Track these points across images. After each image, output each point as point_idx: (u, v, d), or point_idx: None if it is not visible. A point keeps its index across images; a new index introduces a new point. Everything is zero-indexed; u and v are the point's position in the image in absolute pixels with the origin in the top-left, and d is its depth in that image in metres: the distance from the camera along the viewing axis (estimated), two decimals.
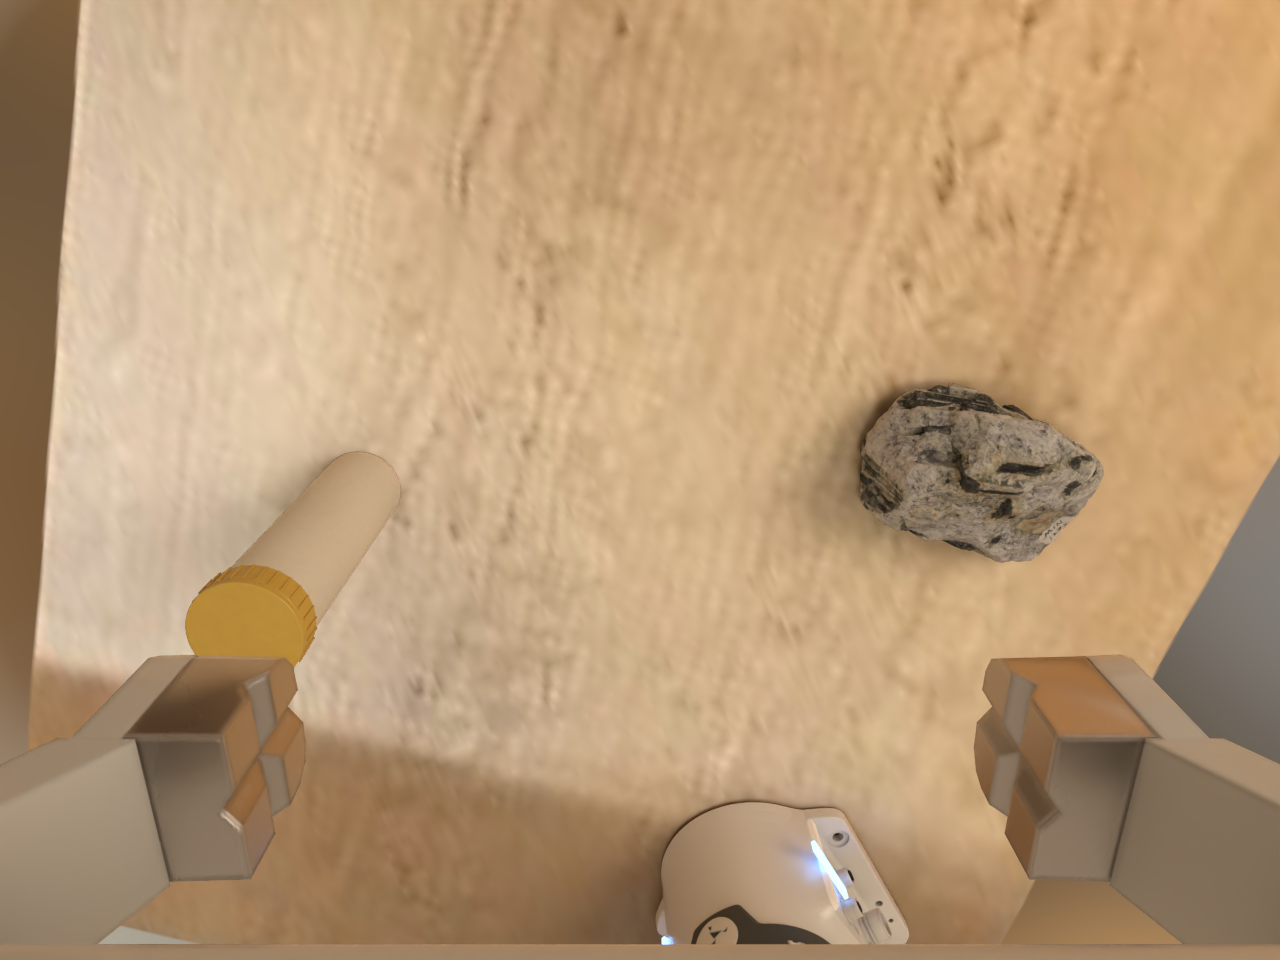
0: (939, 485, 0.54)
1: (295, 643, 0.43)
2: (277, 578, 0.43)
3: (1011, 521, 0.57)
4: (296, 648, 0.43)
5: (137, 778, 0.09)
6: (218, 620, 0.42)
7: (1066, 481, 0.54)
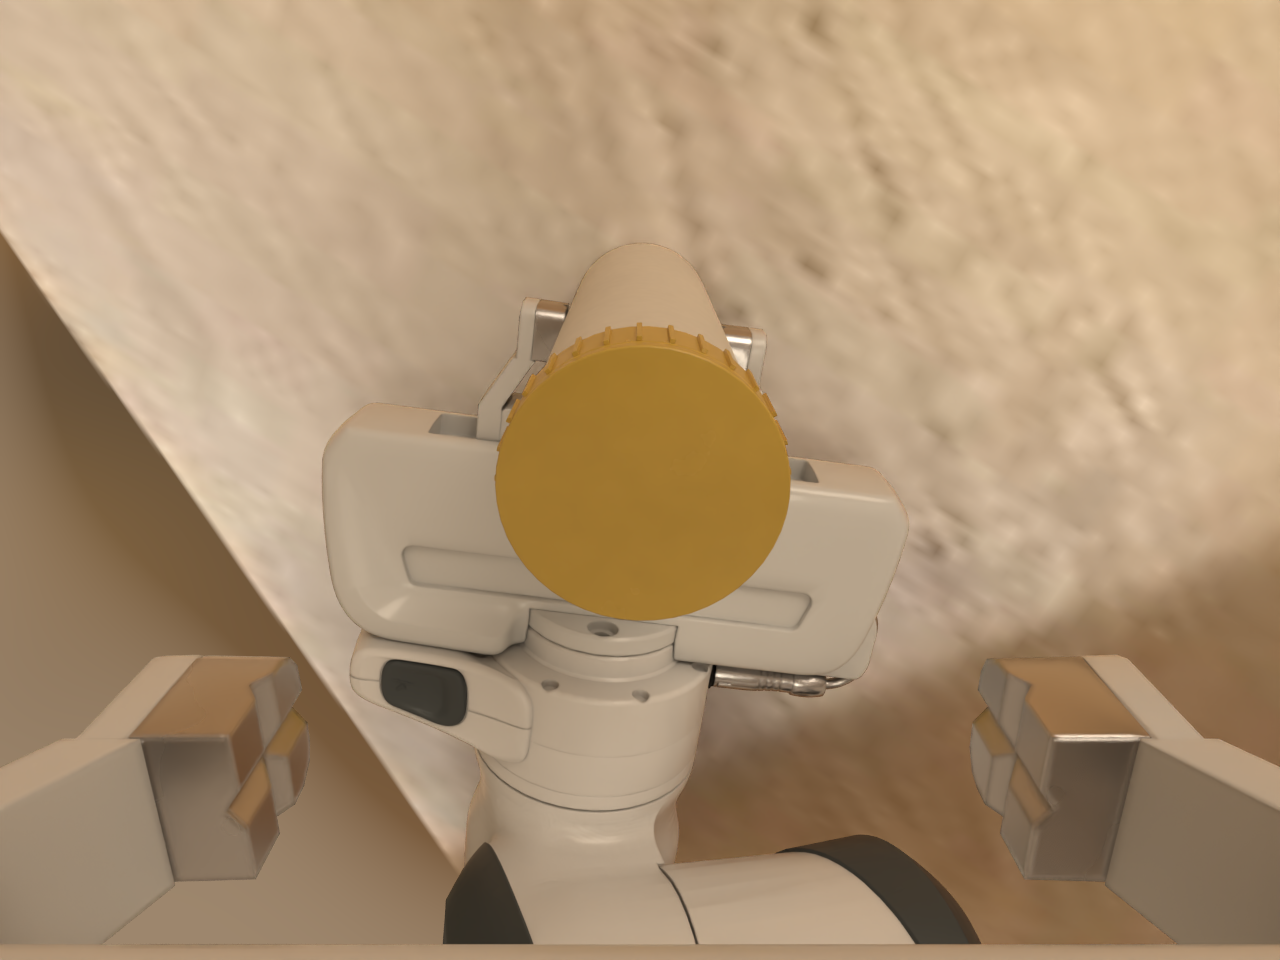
0: None
1: (755, 428, 0.16)
2: None
3: None
4: (765, 438, 0.17)
5: (142, 778, 0.09)
6: (572, 501, 0.17)
7: None
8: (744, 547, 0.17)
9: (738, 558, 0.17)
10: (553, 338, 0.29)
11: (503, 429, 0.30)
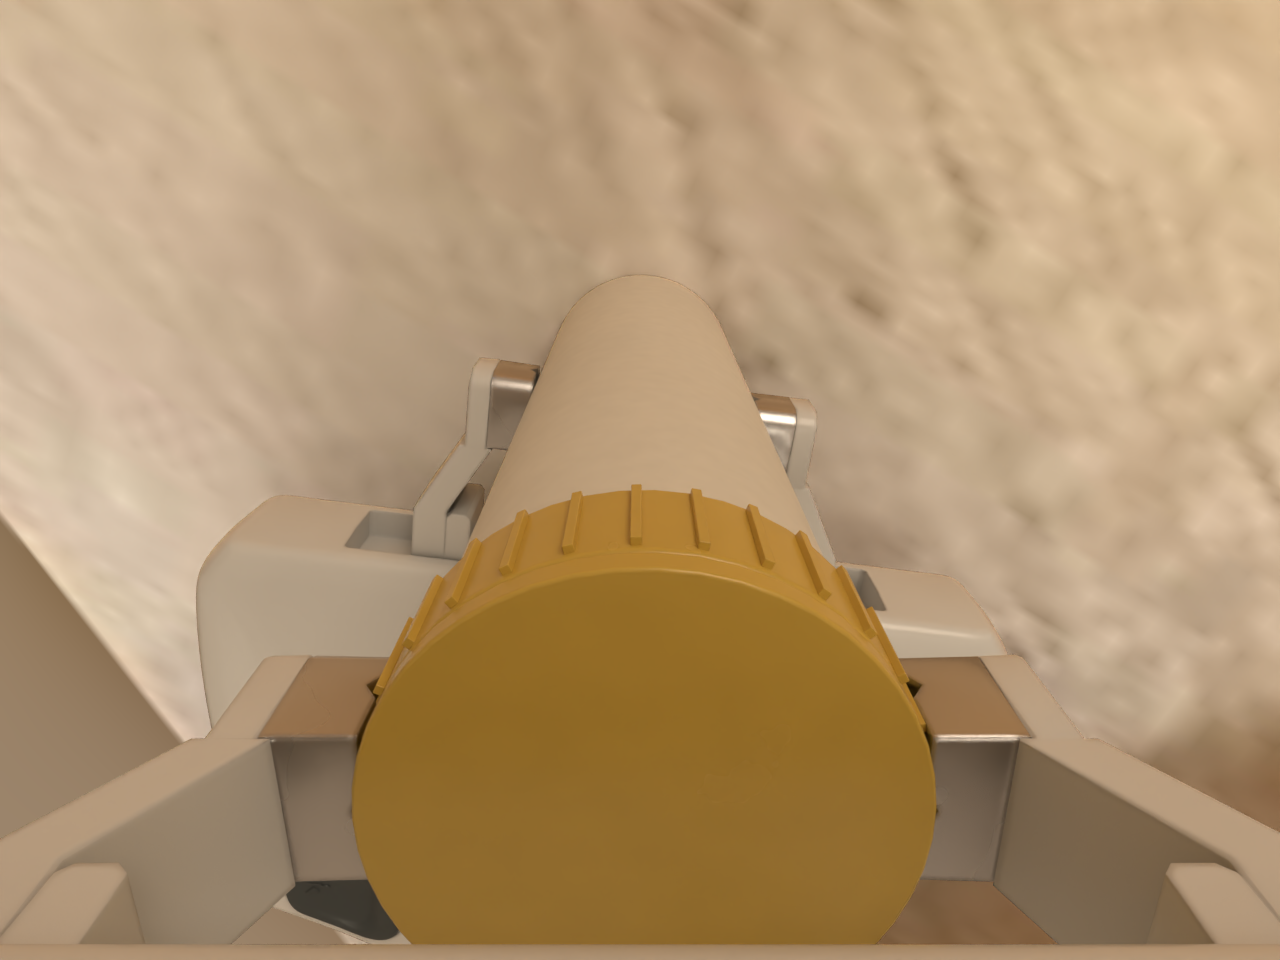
0: None
1: (872, 720, 0.08)
2: (587, 522, 0.09)
3: None
4: (891, 738, 0.08)
5: (270, 778, 0.09)
6: (505, 846, 0.09)
7: None
8: (839, 921, 0.09)
9: (827, 939, 0.09)
10: (517, 418, 0.20)
11: (449, 541, 0.21)
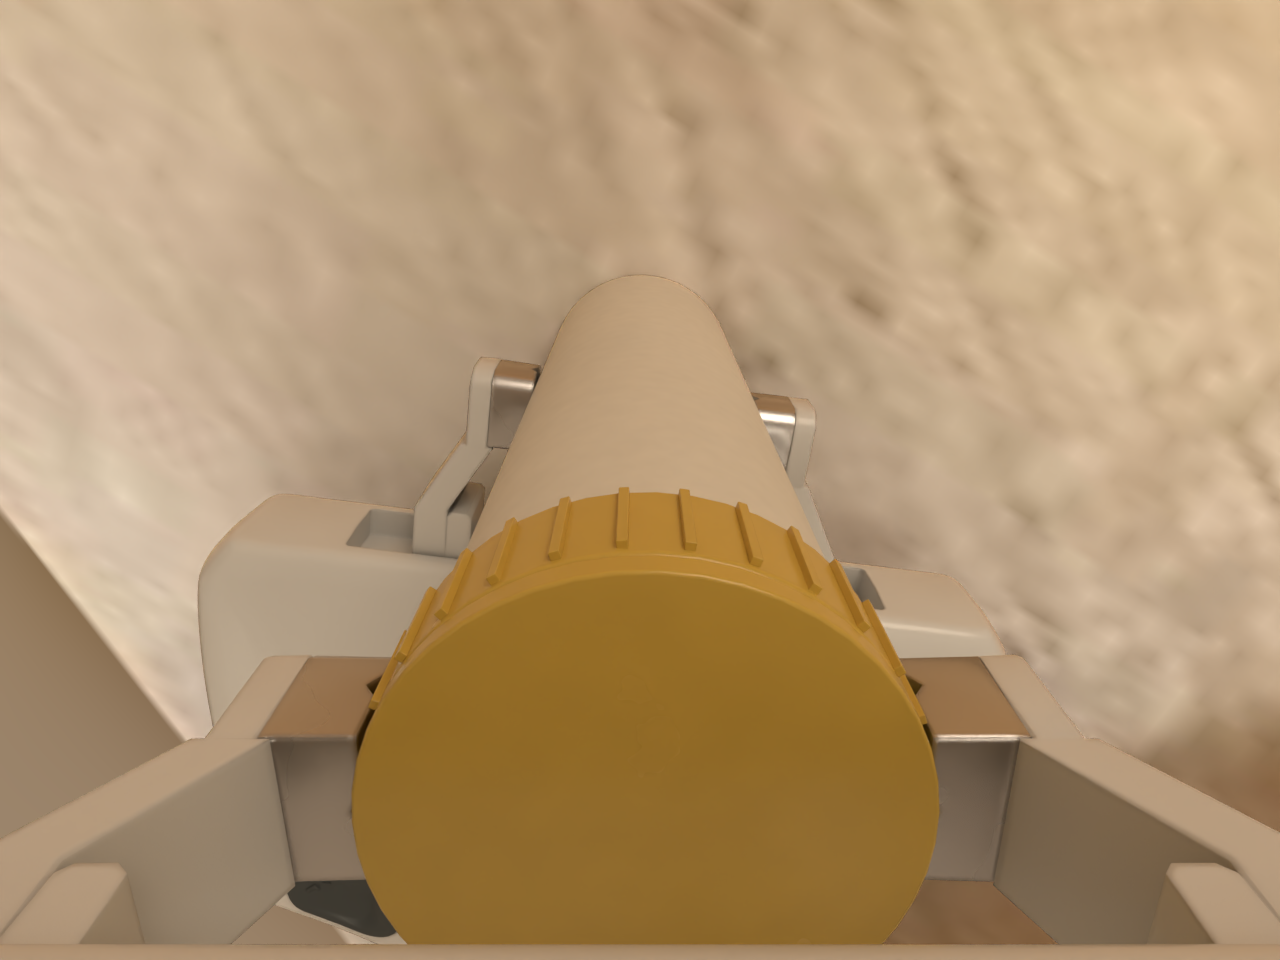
0: None
1: (677, 611, 0.08)
2: None
3: None
4: (709, 607, 0.08)
5: (270, 778, 0.09)
6: (578, 928, 0.09)
7: None
8: (875, 760, 0.08)
9: (886, 780, 0.08)
10: (517, 417, 0.21)
11: (450, 540, 0.21)
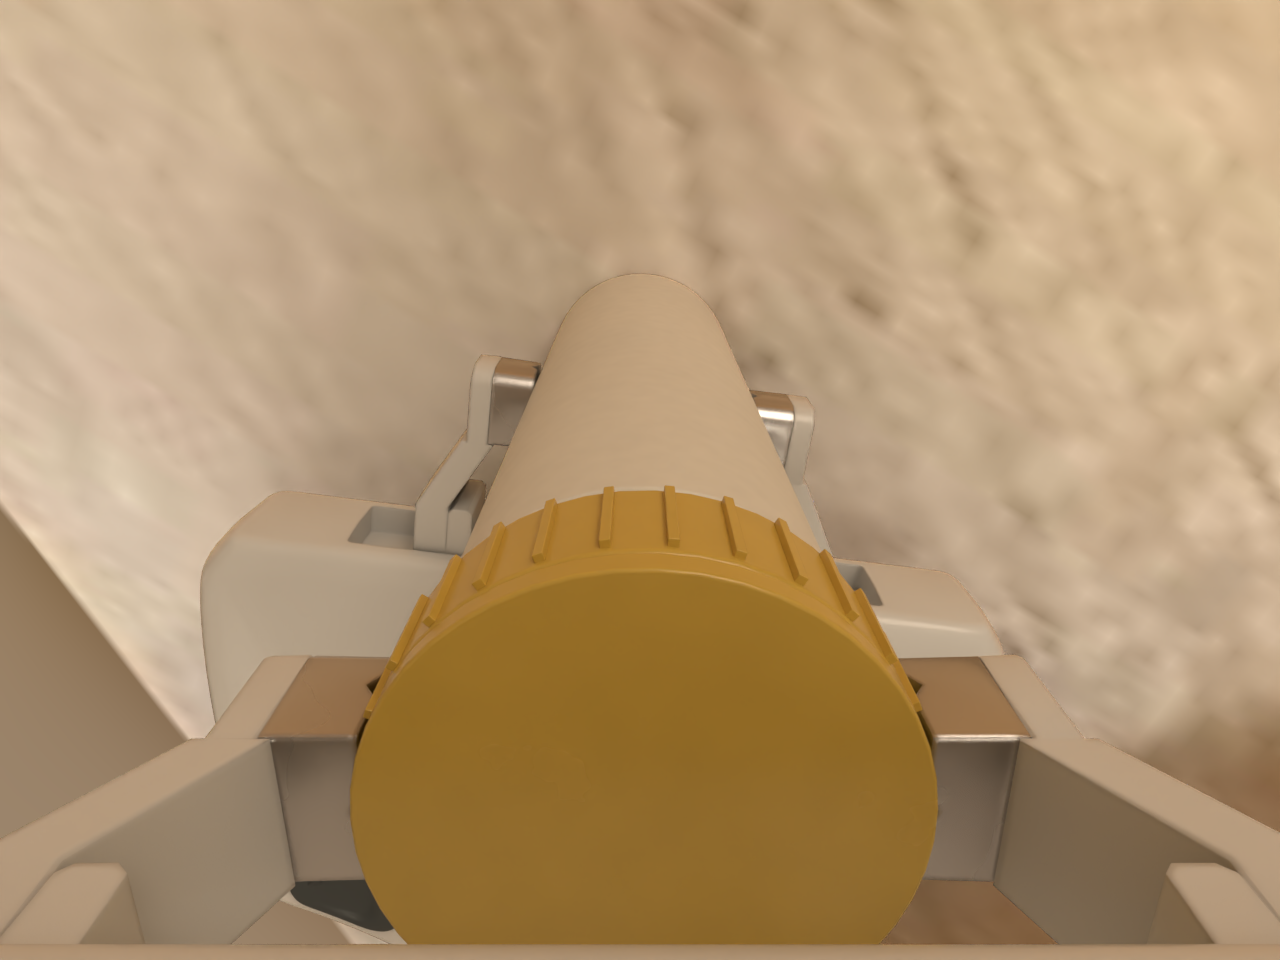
0: None
1: (446, 682, 0.08)
2: None
3: None
4: (461, 658, 0.08)
5: (270, 778, 0.09)
6: (696, 931, 0.09)
7: None
8: (714, 630, 0.08)
9: (743, 635, 0.08)
10: (518, 414, 0.21)
11: (450, 536, 0.22)
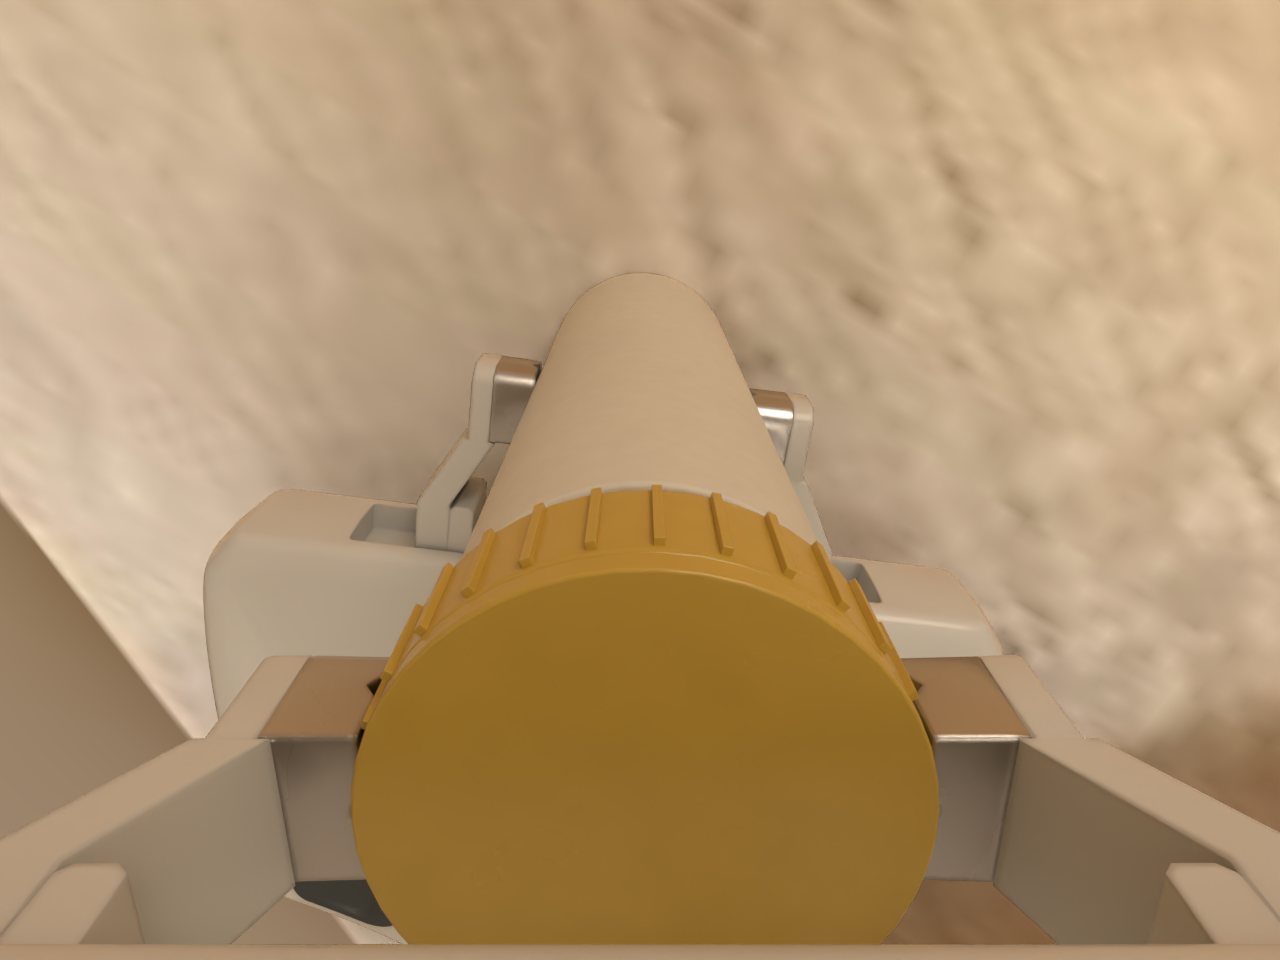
0: None
1: (396, 862, 0.09)
2: None
3: None
4: (383, 840, 0.09)
5: (270, 778, 0.09)
6: (780, 860, 0.09)
7: None
8: (489, 667, 0.08)
9: (509, 650, 0.08)
10: (519, 412, 0.21)
11: (452, 534, 0.22)
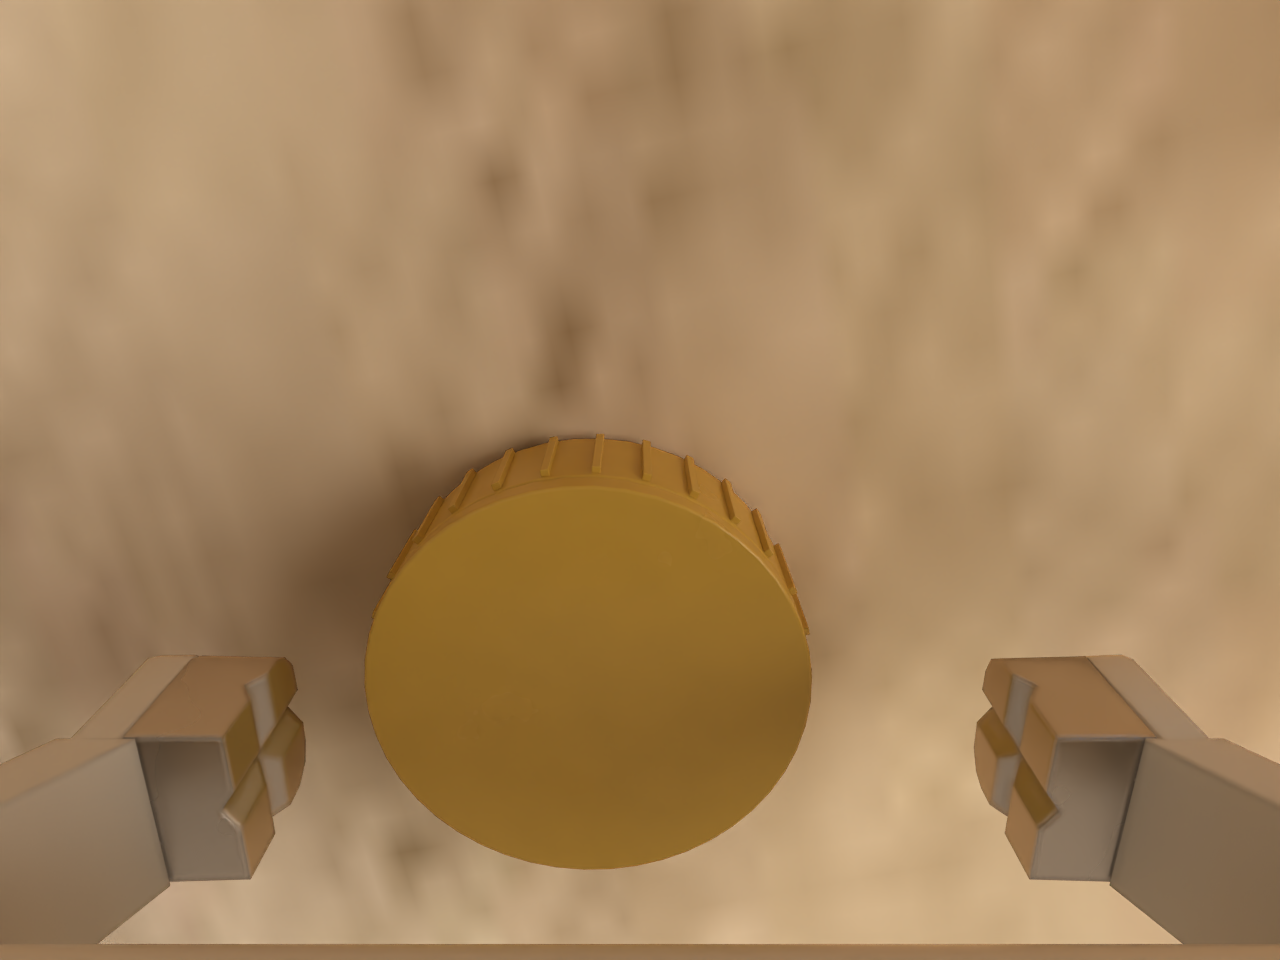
0: None
1: (399, 720, 0.11)
2: None
3: None
4: (389, 702, 0.11)
5: (137, 778, 0.09)
6: (692, 718, 0.11)
7: None
8: (468, 563, 0.11)
9: (483, 550, 0.10)
10: None
11: None
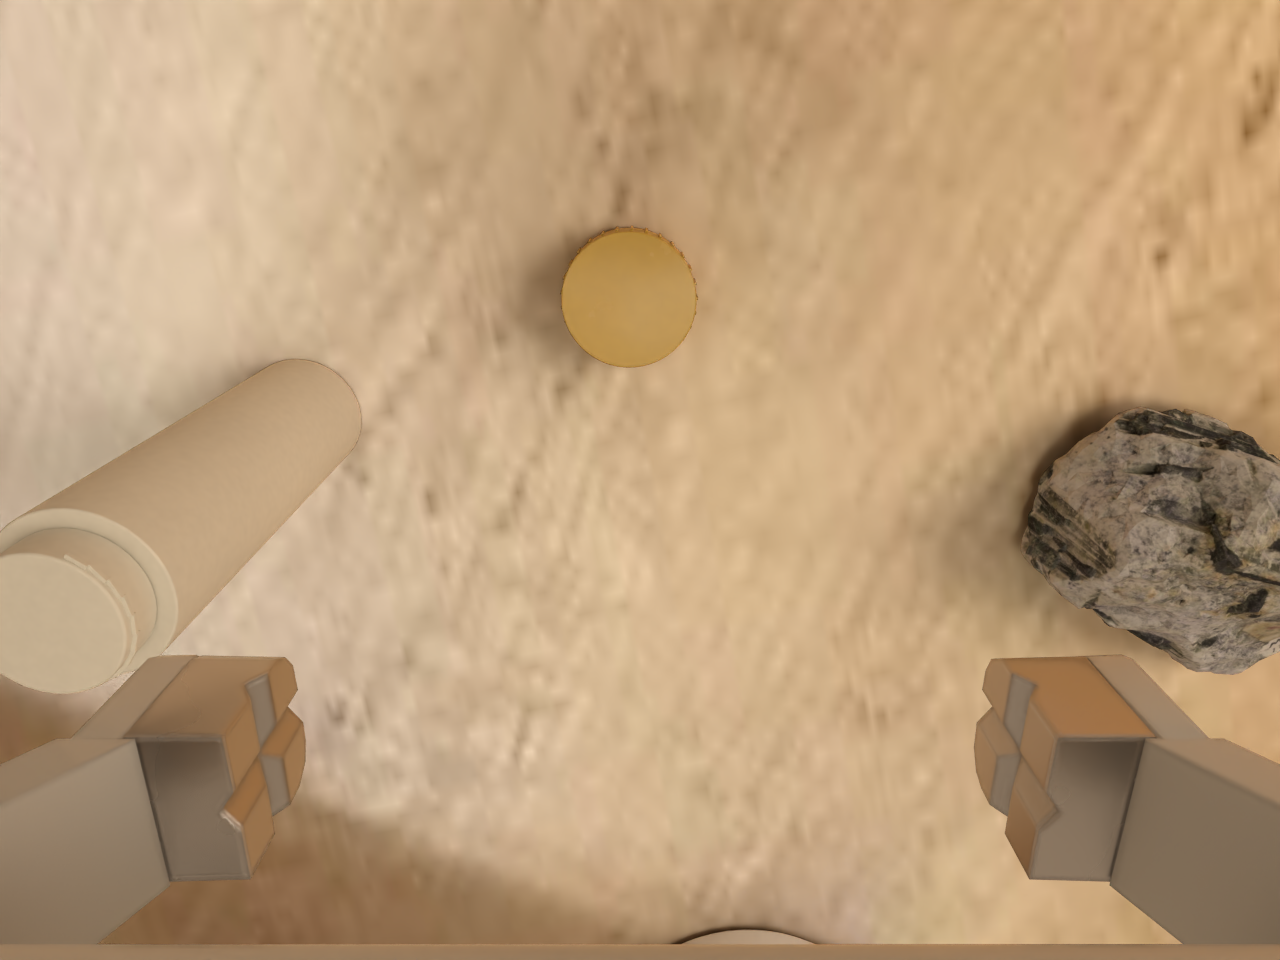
0: (1178, 554, 0.36)
1: (571, 310, 0.37)
2: None
3: (1241, 620, 0.40)
4: (568, 303, 0.37)
5: (137, 778, 0.09)
6: (660, 309, 0.37)
7: None
8: (594, 256, 0.36)
9: (599, 251, 0.36)
10: None
11: None
